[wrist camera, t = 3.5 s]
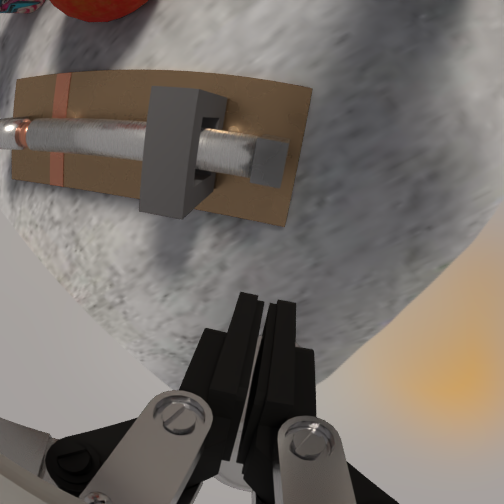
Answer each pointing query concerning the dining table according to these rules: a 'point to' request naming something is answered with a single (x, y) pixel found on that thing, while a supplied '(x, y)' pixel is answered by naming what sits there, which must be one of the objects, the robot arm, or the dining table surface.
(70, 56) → the dining table surface
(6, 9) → the cup
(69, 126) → the pipe rig
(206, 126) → the collar
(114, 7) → the apple
